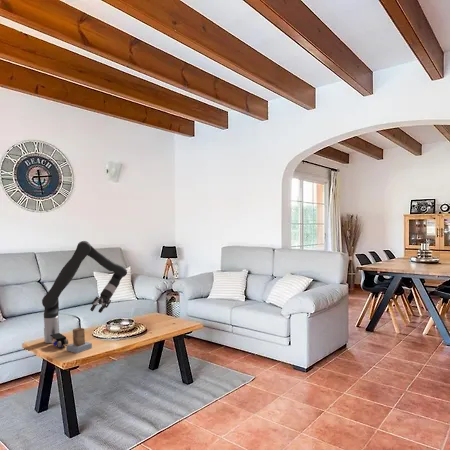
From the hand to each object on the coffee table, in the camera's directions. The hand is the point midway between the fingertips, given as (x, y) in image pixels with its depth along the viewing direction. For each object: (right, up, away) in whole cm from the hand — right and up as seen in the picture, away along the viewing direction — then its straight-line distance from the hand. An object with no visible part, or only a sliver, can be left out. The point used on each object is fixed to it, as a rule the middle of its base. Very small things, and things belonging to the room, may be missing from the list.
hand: (95, 311), depth 259 cm
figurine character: (-22, -22, -6) cm, 32 cm away
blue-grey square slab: (-6, -21, -13) cm, 26 cm away
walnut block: (-6, -18, -13) cm, 23 cm away
